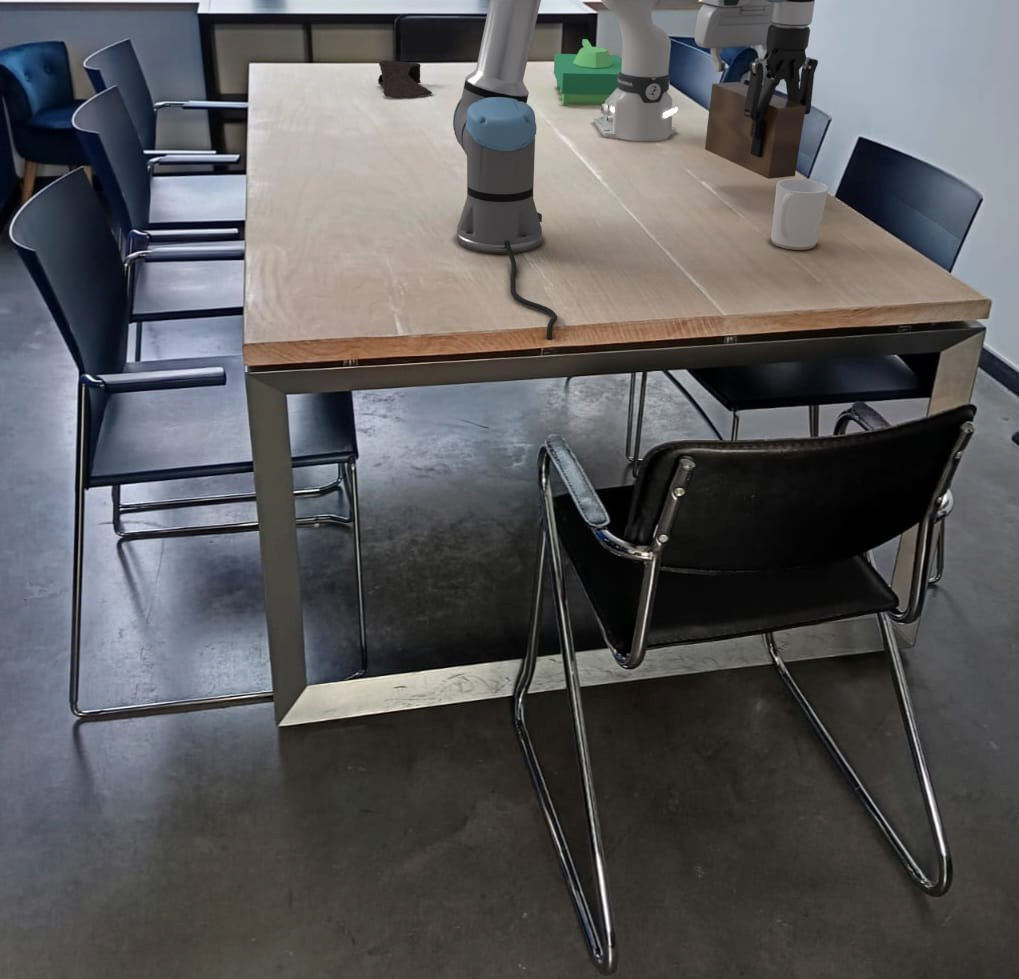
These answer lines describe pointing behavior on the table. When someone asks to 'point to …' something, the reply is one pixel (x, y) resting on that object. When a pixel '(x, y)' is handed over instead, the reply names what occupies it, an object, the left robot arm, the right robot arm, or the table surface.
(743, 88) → the box
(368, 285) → the table surface
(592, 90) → the toy tank
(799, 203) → the mug
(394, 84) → the axe head
